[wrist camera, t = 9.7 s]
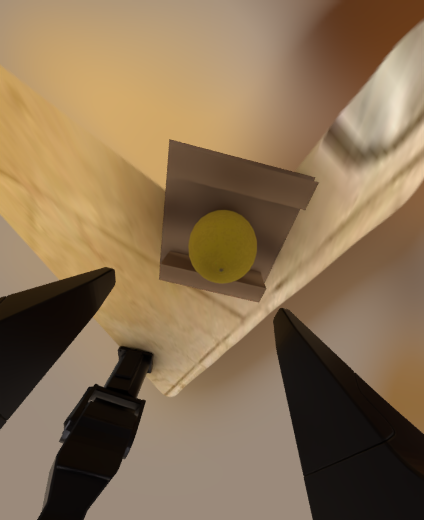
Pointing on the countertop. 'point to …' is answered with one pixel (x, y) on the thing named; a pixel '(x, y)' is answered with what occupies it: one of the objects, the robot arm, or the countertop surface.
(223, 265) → the lemon
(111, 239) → the countertop surface
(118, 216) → the countertop surface
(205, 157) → the cradle
